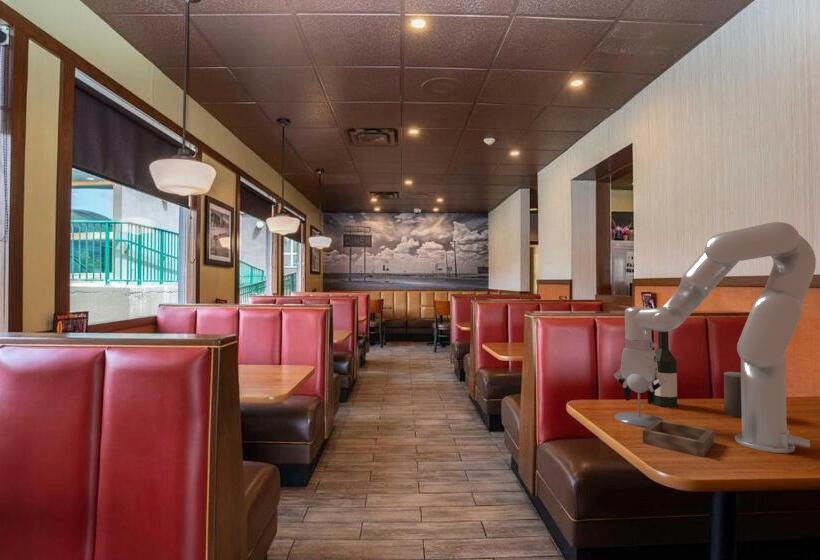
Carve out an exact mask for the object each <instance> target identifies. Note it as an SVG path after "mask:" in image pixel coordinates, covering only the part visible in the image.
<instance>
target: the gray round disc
mask: <svg viewBox="0 0 820 560" xmlns="http://www.w3.org/2000/svg"><path fill="white" fill-rule="evenodd" d="M614 419H615V420H616V421H617V422H620V423H623V424H625V425H629V426H633V427H639V428H647V427H648V426H649V425H650V424H652V423H653V422H654V421H656V420H657V419H658V420H663V419H662V418H661V417H658V416H655V415H653V414H647V413H641V412H640V417H638V412H632V411H631V412H629V411H628V412H626V411H625V412H618V413H616V414H615V415H614Z"/></svg>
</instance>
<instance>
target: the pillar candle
mask: <svg viewBox="0 0 820 560" xmlns="http://www.w3.org/2000/svg"><path fill="white" fill-rule="evenodd" d="M723 396H724V397H723V398H724V399H723V402H724V403H723V412H724V414H726V415H727V416H729V417H734V418H738V419H742V412H741V372H739V371H737V372H735V371H726V372H723Z"/></svg>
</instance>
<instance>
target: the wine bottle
mask: <svg viewBox="0 0 820 560" xmlns="http://www.w3.org/2000/svg"><path fill="white" fill-rule="evenodd" d="M669 342H670V341H669V331H666V332H661V331H657V349H656V350H655V354H656V359H657V367H658V372H659V374H660V375H661V376H662V377H663V378H664V379H665V380H666V383H664V384H663V385H661V386H660V387H659V388H658V389H656V390H655V401H654V402H653V403H652V404H651V405H653V406H656V407H660V408H665V407H669V408H668V409H673V408H672V407H675V408H678V373H677V372H678V370H677V369H678V365H677V363H678V362H677V359H676V358H675V357H674V355H673V354H672V352H671V351H670V348H669ZM658 382H659V380H658V379H657V380H655V381H654V385H655V384H657V383H658Z"/></svg>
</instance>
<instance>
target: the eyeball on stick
mask: <svg viewBox="0 0 820 560" xmlns="http://www.w3.org/2000/svg"><path fill="white" fill-rule="evenodd" d="M627 385H628V386H629V388H630V389H631V391H633V392H635V393H637V413H638V417H640V413H641V394H642V393H646V392H648V391H649V388H648V387H649V382H647V380H646V379H645V378H644V377H643V376H642V375H640V374H631V375H629V376H628V378H627Z"/></svg>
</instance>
